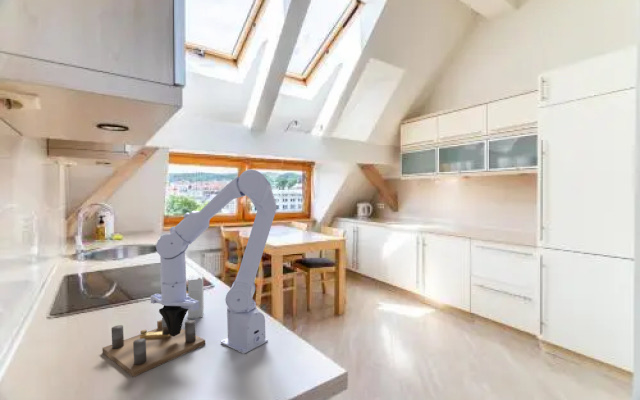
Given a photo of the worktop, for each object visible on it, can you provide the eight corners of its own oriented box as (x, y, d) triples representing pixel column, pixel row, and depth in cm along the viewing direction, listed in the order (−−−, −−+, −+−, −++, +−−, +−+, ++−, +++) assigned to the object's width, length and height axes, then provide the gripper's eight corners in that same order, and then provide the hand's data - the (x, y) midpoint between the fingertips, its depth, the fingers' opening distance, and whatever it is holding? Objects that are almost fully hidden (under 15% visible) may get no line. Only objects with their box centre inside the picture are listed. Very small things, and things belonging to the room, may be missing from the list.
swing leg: (139, 339, 81) (138, 320, 80) (144, 334, 83) (143, 317, 83) (170, 337, 81) (169, 319, 81) (174, 333, 84) (173, 315, 83)
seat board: (205, 344, 80) (204, 321, 80) (133, 376, 66) (132, 349, 66) (171, 327, 90) (170, 306, 90) (102, 352, 77) (101, 328, 76)
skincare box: (189, 312, 102) (188, 274, 101) (204, 310, 103) (203, 273, 102) (187, 319, 96) (186, 280, 95) (203, 317, 97) (202, 278, 97)
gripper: (207, 279, 80) (208, 332, 80) (166, 274, 85) (167, 323, 86) (185, 287, 73) (187, 345, 74) (142, 281, 79) (144, 334, 79)
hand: (175, 334), depth 79 cm, fingers closed
